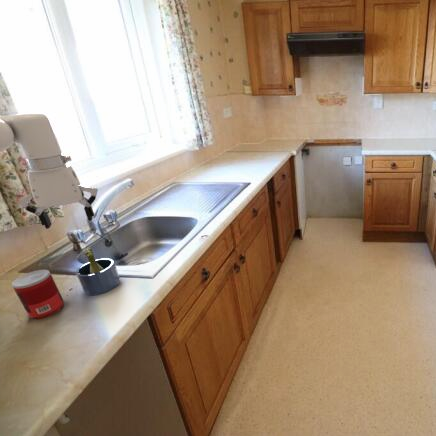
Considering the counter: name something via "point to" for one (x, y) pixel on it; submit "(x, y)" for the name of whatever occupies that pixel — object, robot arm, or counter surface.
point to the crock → (98, 277)
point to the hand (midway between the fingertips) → (70, 222)
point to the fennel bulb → (93, 262)
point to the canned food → (38, 293)
